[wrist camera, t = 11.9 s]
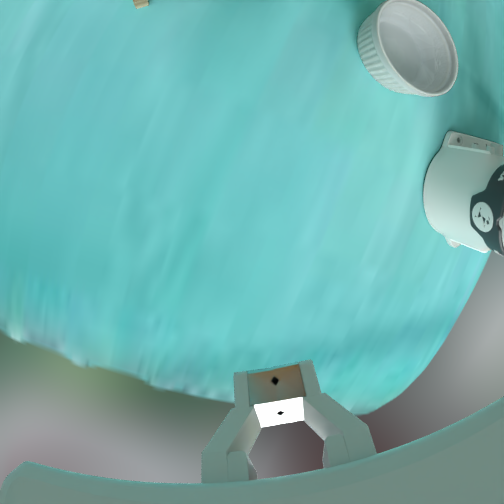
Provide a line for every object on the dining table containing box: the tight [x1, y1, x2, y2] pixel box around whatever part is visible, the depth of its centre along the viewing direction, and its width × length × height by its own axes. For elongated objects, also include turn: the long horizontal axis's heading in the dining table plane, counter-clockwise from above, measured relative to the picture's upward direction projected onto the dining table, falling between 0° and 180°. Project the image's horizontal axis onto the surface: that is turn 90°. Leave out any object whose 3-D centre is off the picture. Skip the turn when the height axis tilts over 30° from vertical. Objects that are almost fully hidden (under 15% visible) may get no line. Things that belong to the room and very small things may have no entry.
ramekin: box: [357, 0, 458, 97], centre depth 28 cm, size 13×13×7 cm
